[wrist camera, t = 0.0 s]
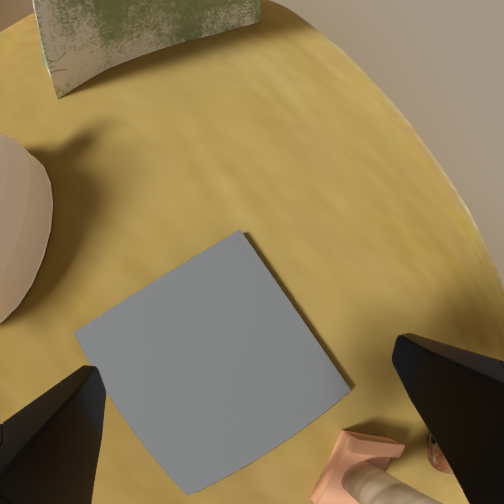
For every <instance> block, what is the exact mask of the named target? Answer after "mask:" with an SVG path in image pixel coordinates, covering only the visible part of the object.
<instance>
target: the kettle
mask: <svg viewBox="0 0 504 504" xmlns="http://www.w3.org/2000/svg"><path fill="white" fill-rule="evenodd" d="M52 211H53V199H52V190H51V182H50V180H49V177H48V175H47V173H46V170H45V168H44V166H43V165H42V164H41V163H40V162H39V161H38V160H37V159H36V158H35V157H34V156H32V155H31V154H30V153H29V152H28V151H27V150H26V149H25V148H24V147H23V146H22V145H21V144H20V143H19V142H18V141H17V140H16V139H14V138H11V137H9V136H6V135H3V134H0V323H1V322H3V321H4V320H5V319H6V318H7V317H8V316H9V315H10V314H11V313H12V312H13V311H14V310H15V309H16V308H17V307H18V306H19V304H20V303H21V301H22V299H23V298H24V296H25V295H26V293H27V292H28V290H29V289H30V287H31V286H32V284H33V281H34V279H35V277H36V274H37V272H38V269H39V267H40V265H41V263H42V260H43V258H44V254H45V250H46V246H47V242H48V238H49V235H50V231H51V221H52Z"/></svg>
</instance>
